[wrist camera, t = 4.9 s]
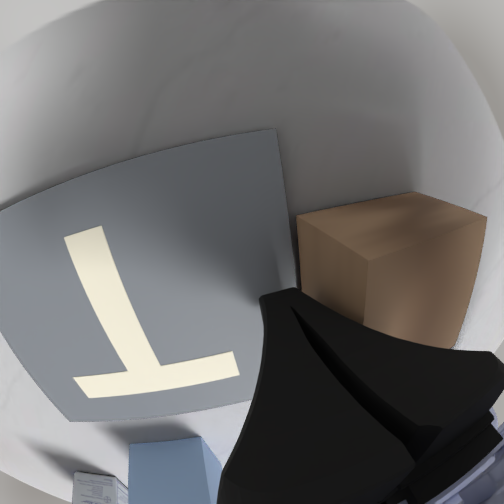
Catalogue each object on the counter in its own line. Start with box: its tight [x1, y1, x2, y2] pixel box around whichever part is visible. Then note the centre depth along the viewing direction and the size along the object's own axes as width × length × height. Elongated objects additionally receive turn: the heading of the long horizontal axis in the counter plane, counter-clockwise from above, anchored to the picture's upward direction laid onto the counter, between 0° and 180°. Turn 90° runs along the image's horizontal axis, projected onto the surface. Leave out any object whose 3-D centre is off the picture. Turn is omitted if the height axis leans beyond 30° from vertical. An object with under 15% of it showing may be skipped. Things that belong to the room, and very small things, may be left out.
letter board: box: [0, 128, 296, 422], centre depth 10 cm, size 14×12×1 cm
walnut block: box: [296, 192, 487, 349], centre depth 10 cm, size 6×6×4 cm
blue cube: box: [128, 437, 222, 504], centre depth 13 cm, size 5×5×5 cm
